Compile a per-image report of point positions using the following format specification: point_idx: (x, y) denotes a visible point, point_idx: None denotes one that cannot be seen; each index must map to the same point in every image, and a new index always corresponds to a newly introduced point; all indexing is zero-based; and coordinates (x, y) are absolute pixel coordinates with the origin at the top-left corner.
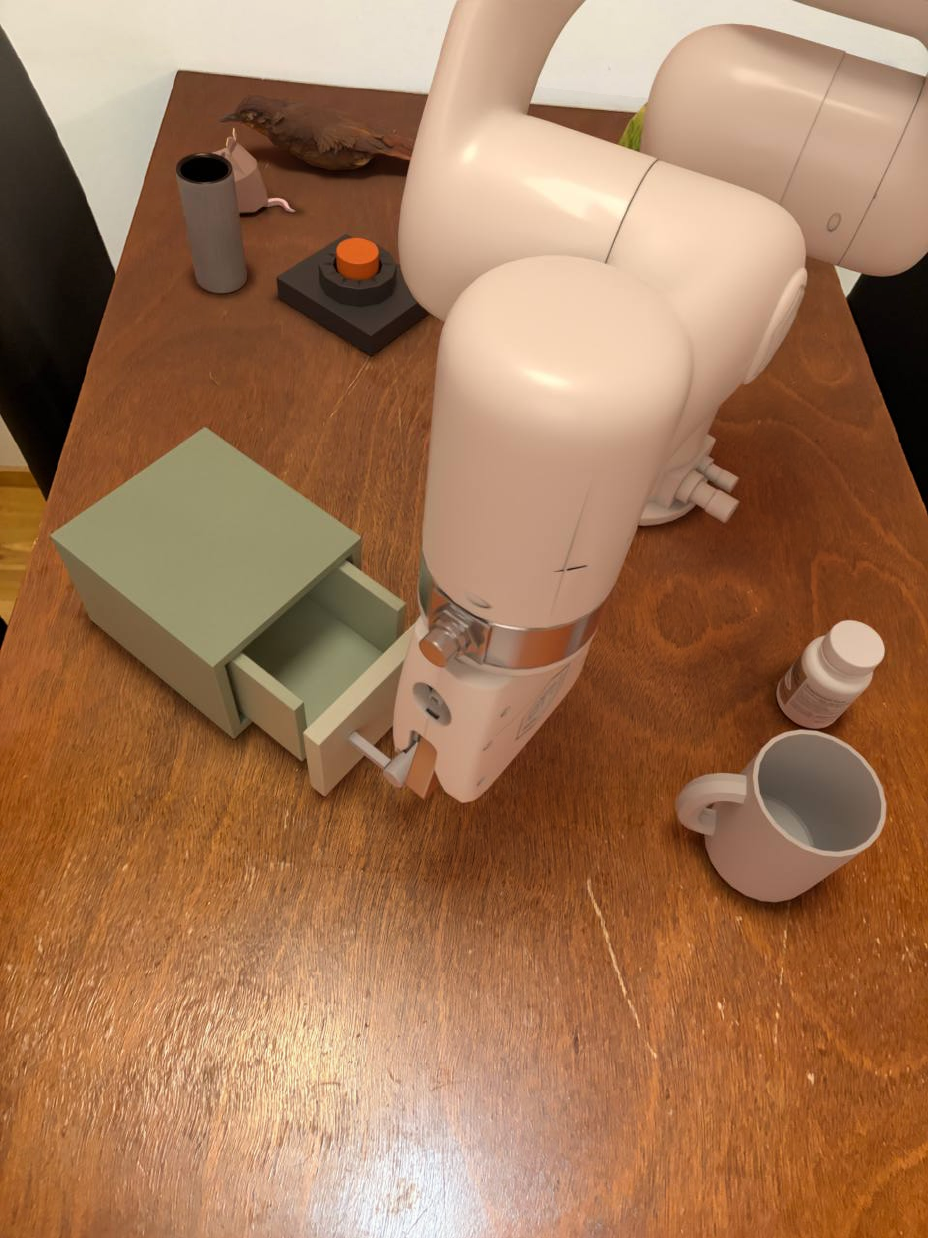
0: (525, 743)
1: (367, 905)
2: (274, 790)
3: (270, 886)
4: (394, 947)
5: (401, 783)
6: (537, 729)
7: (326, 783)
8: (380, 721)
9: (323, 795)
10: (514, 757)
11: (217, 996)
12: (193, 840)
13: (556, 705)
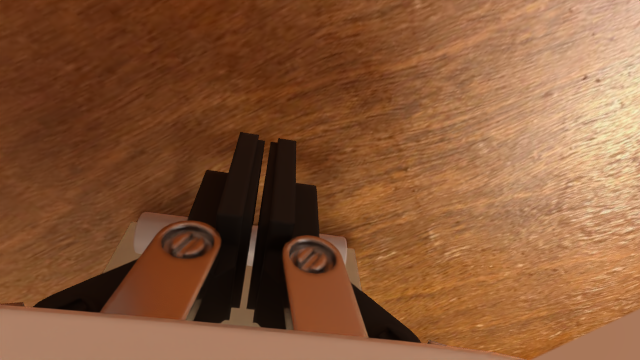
0: (275, 349)
1: (445, 145)
2: (362, 277)
3: (458, 234)
4: (485, 93)
5: (345, 248)
6: (180, 339)
7: (353, 271)
8: (250, 272)
9: (354, 251)
10: (352, 344)
11: (576, 219)
12: (439, 302)
13: (1, 335)
